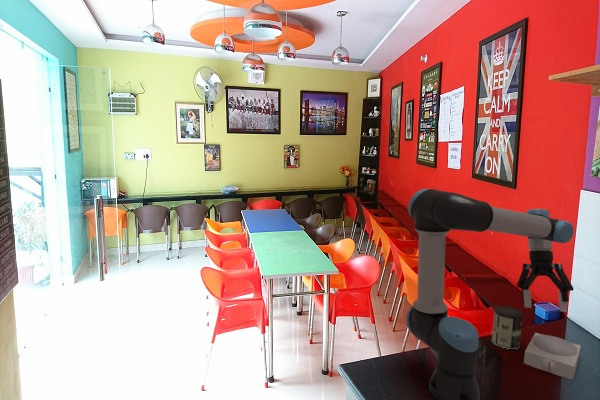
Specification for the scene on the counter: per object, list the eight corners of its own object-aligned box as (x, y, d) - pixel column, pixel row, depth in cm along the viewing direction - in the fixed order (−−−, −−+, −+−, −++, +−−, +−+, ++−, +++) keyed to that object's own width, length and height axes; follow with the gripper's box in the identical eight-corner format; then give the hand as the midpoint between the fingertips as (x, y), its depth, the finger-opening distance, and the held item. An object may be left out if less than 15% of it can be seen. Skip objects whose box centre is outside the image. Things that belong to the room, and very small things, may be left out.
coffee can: (514, 339, 160) (517, 307, 158) (523, 351, 150) (527, 317, 148) (488, 336, 162) (491, 304, 160) (495, 348, 152) (498, 314, 150)
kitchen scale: (523, 364, 141) (524, 349, 140) (534, 344, 156) (535, 330, 155) (572, 381, 131) (574, 365, 130) (579, 357, 146) (581, 343, 146)
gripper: (582, 249, 132) (588, 313, 128) (518, 252, 155) (522, 306, 151) (567, 248, 129) (572, 313, 125) (504, 251, 152) (507, 305, 148)
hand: (545, 309), depth 138 cm, fingers open, 13 cm apart
